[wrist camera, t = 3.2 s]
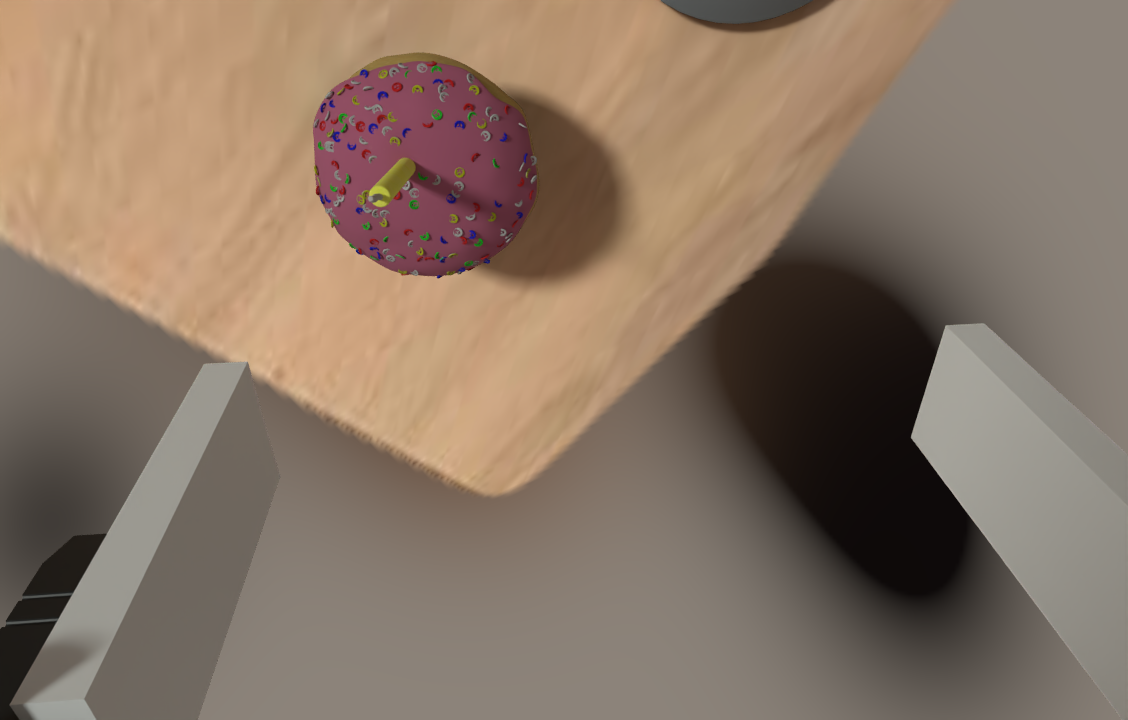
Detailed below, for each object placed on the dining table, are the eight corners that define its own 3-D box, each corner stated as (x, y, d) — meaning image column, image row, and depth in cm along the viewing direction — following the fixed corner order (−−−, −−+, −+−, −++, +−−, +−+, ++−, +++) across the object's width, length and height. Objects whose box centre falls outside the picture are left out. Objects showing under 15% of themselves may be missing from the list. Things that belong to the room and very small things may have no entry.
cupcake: (289, 96, 31) (197, 206, 21) (465, -13, 29) (455, 51, 19) (408, 259, 36) (378, 414, 26) (567, 173, 34) (601, 302, 24)
